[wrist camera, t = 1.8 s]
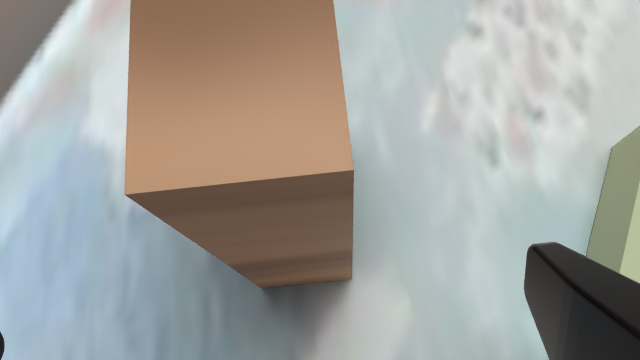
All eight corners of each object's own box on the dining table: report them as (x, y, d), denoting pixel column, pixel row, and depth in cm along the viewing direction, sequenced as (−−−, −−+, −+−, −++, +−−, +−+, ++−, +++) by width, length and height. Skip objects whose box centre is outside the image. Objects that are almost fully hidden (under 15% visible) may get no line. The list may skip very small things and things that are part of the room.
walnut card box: (352, 278, 19) (355, 170, 8) (260, 288, 20) (122, 195, 8) (336, 136, 21) (318, -129, 10) (252, 145, 21) (132, -106, 10)
